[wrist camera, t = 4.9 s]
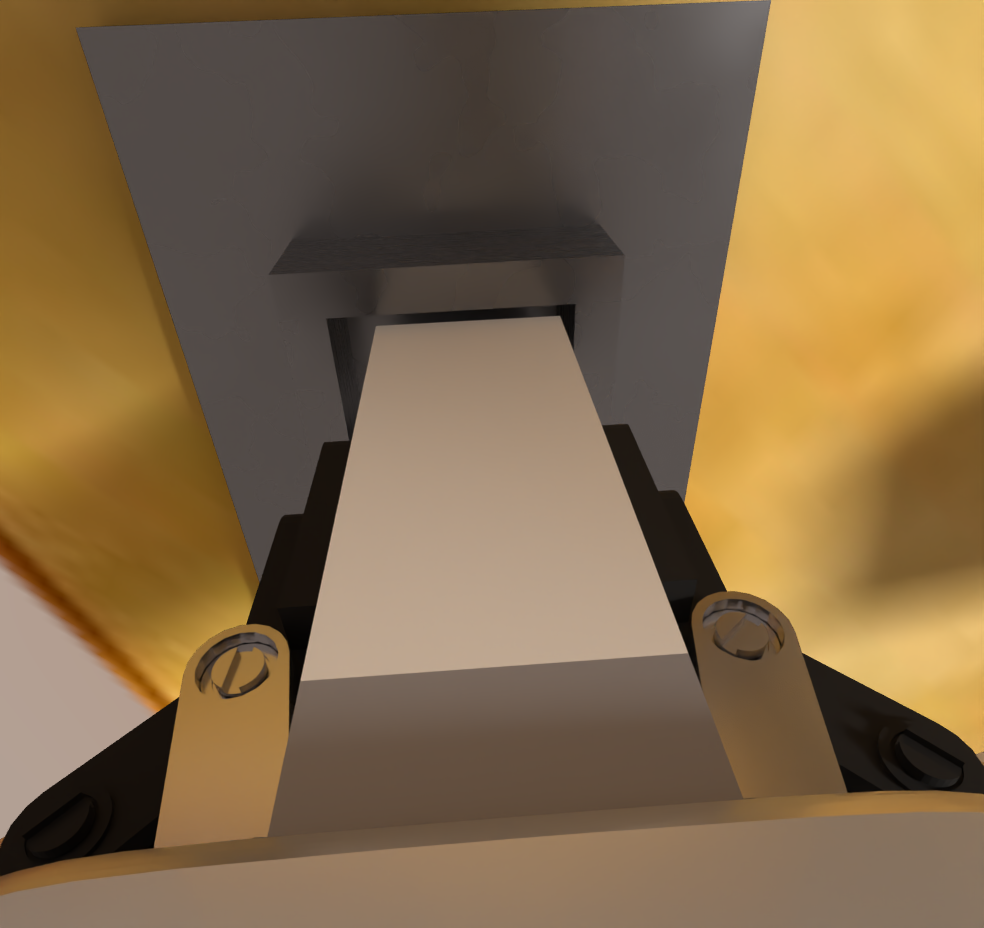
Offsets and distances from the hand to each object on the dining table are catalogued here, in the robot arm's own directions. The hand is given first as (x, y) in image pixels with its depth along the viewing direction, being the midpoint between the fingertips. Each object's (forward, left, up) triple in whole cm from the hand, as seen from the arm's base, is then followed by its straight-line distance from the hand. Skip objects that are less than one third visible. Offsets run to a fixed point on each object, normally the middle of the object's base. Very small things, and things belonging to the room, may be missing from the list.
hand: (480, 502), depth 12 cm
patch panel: (+8, 0, -7) cm, 11 cm away
